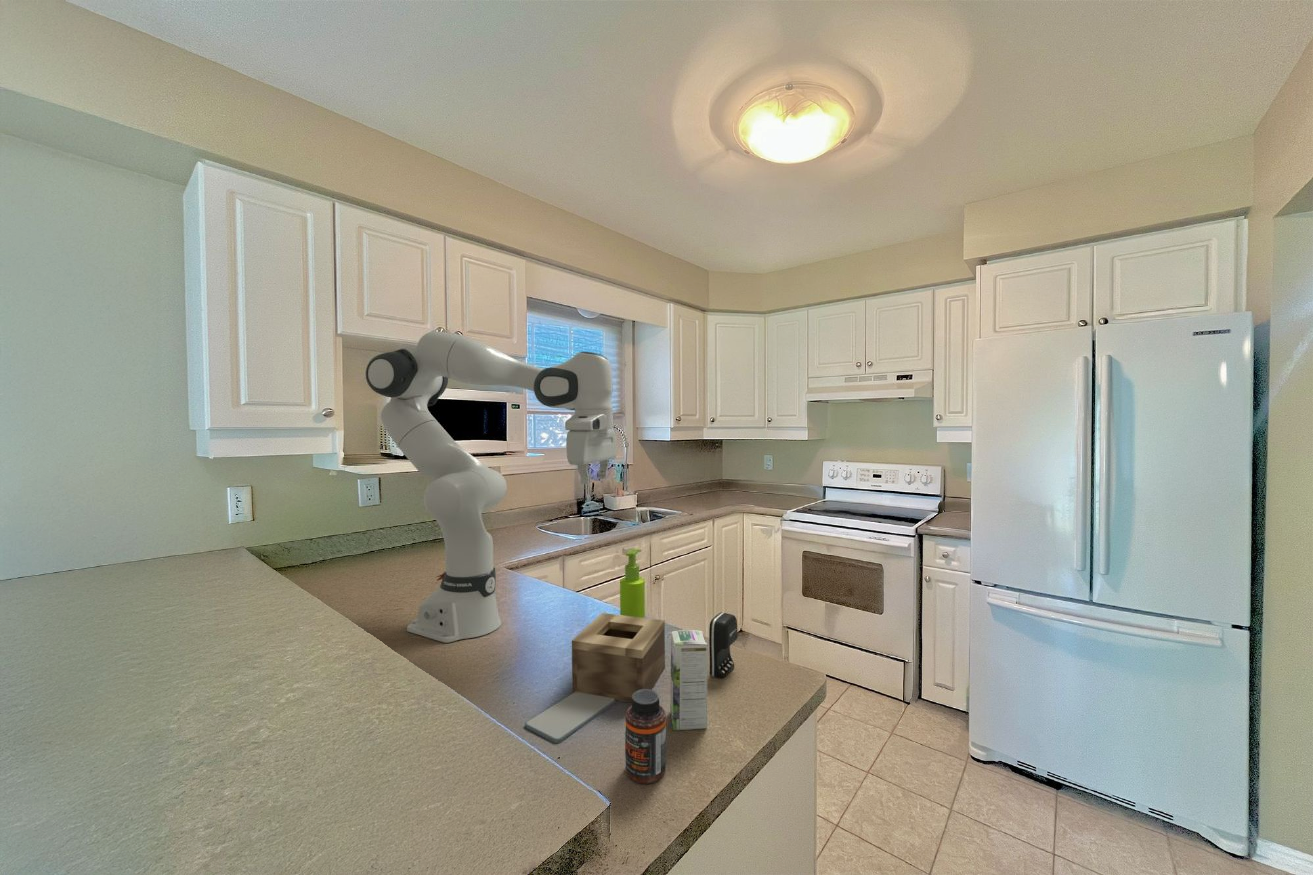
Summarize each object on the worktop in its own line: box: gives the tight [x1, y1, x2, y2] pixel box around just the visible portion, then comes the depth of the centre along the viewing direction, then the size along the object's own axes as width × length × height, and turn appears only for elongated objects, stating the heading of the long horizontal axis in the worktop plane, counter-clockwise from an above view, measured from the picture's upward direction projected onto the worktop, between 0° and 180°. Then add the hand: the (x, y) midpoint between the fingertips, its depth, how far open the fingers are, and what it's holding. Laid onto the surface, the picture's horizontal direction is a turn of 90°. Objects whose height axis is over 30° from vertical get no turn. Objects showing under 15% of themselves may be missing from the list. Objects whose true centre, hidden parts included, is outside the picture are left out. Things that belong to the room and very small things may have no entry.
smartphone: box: [524, 692, 617, 744], centre depth 88 cm, size 8×1×15 cm
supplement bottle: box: [624, 689, 667, 785], centre depth 73 cm, size 6×6×11 cm
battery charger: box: [708, 612, 739, 679], centre depth 102 cm, size 7×4×11 cm, turn 149°
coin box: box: [571, 612, 666, 704], centre depth 99 cm, size 14×14×10 cm
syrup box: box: [669, 629, 709, 731], centre depth 86 cm, size 6×6×14 cm
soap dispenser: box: [619, 548, 646, 618], centre depth 121 cm, size 6×7×20 cm
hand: (594, 481), depth 118 cm, fingers open, 8 cm apart
